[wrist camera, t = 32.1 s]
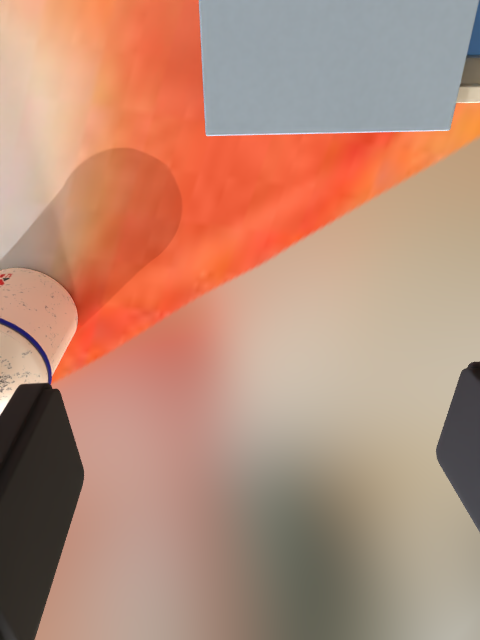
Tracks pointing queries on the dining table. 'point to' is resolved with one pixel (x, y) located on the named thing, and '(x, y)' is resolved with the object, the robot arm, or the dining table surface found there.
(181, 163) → the dining table surface
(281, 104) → the grey drawer cabinet
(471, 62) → the drawer
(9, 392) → the teacup with lid
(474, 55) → the blue wooden cube
